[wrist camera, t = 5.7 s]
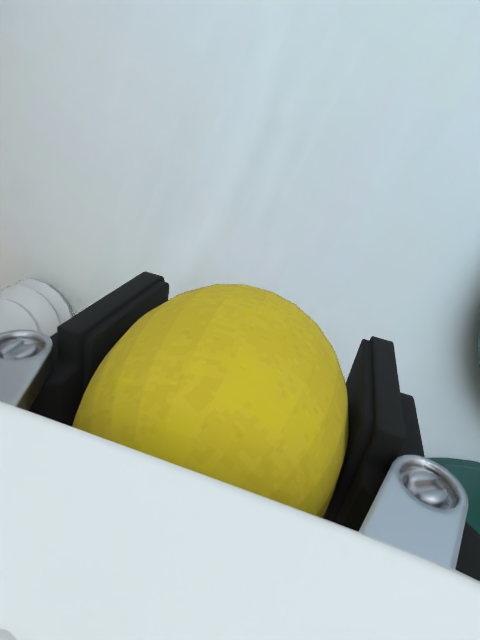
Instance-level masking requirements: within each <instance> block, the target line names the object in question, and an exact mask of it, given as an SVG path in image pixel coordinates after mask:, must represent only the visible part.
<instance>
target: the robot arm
mask: <svg viewBox="0 0 480 640" xmlns="http://www.w3.org/2000/svg"><path fill="white" fill-rule="evenodd" d="M168 294H169V284H168V283H166V282H165V281H164V278H163V277H162V276H159V275H156V274H152V273H149V272H143V273H141V274H140V275H138V276H136V277H135V278H133V279H132V280H130V281H129V282H127V283H125V284H124V285H122V286H121V287H119V288H117V289H116V290H114V291H113V292H111V293H110V294H108V295H106V296H105V297H103V298H102V299H100V300H99V301H97V302H95V303H94V304H92V305H91V306H89V307H88V308H86V309H84V310H83V311H81V312H80V313H78V314H77V315H75V316H73V317H72V318H70V319H69V320H67V321H66V322H64V323H62V324H61V325H59V326H58V327H57V332H56V333H55V334H53V335H52V336H50V337H48V336H47V335H46V334H43V333H41V332H38V331H33V330H11V331H6V332H2V333H0V640H480V534H479V533H478V532H477V531H476V530H475V529H474V528H473V527H472V526H470V525H469V524H468V523H467V522H466V521H465V520H466V515H467V511H468V496H467V493H466V491H465V489H464V487H463V486H462V484H461V483H460V482H459V480H458V479H457V478H456V477H455V476H454V475H453V474H452V473H451V472H449V471H448V470H447V469H446V468H444V467H443V466H441V465H440V464H438V463H437V462H434V461H432V460H430V459H428V458H425V457H424V451H423V446H422V440H421V435H420V430H419V424H418V419H417V413H416V408H415V403H414V399H413V397H412V396H410V395H407V394H404V393H400V389H399V381H398V374H397V367H396V359H395V352H394V345H393V342H391V341H388V340H384V339H381V338H377V337H374V336H372V337H371V339H370V341H369V340H365V339H363V340H362V342H361V344H360V347H359V349H358V352H357V355H356V357H355V360H354V363H353V365H352V368H351V371H350V374H349V376H348V379H347V382H346V388H347V396H348V420H349V435H348V443H347V449H346V453H345V457H344V461H343V464H342V467H341V471H340V474H339V477H338V480H337V484H336V487H335V490H334V492H333V495H332V498H331V501H330V503H329V505H328V508H327V510H326V512H325V514H324V516H323V518H320V517H318V516H315V515H312V514H309V513H307V512H304V511H301V510H299V509H296V508H293V507H290V506H288V505H285V504H282V503H280V502H277V501H274V500H272V499H269V498H266V497H263V496H261V495H258V494H255V493H253V492H250V491H247V490H244V489H242V488H239V487H236V486H233V485H231V484H228V483H225V482H222V481H220V480H217V479H214V478H211V477H209V476H206V475H203V474H200V473H198V472H195V471H192V470H189V469H186V468H184V467H181V466H178V465H175V464H173V463H170V462H167V461H164V460H162V459H159V458H156V457H153V456H151V455H148V454H145V453H142V452H140V451H137V450H134V449H131V448H129V447H126V446H123V445H121V444H118V443H115V442H112V441H110V440H107V439H104V438H101V437H99V436H96V435H93V434H90V433H88V432H85V431H82V430H79V429H77V428H74V427H72V425H73V422H74V418H75V415H76V413H77V410H78V408H79V405H80V403H81V400H82V398H83V395H84V393H85V391H86V389H87V387H88V384H89V382H90V380H91V378H92V377H93V375H94V373H95V371H96V370H97V368H98V366H99V365H100V363H101V362H102V361H103V359H104V358H105V356H106V355H107V354H108V352H109V351H110V350H111V349H112V348H113V346H114V345H115V344H116V343H117V342H118V341H119V340H120V339H121V337H122V336H123V335H124V334H125V333H126V332H127V331H128V330H129V328H130V327H131V326H132V325H133V324H134V323H135V322H136V321H137V320H138V319H140V318H141V317H142V316H144V315H145V314H146V313H148V312H149V311H151V310H153V309H154V308H156V307H158V306H160V305H161V304H163V303H165V302H167V301H168Z"/></svg>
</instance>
